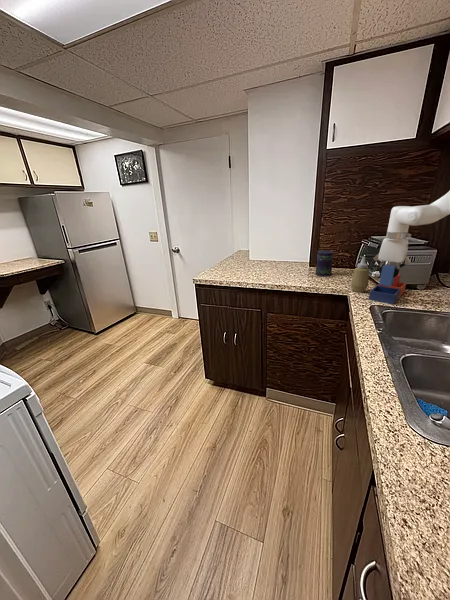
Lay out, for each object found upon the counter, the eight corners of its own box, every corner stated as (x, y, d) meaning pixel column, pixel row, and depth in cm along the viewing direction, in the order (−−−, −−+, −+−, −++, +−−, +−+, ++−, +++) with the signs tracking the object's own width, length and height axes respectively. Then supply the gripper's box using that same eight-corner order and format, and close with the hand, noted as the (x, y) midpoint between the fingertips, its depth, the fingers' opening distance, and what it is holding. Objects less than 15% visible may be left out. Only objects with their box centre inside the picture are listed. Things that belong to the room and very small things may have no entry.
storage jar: (319, 271, 169) (321, 249, 164) (333, 273, 163) (336, 251, 157) (312, 274, 163) (314, 252, 157) (327, 277, 156) (329, 253, 151)
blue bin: (398, 298, 120) (400, 289, 118) (393, 304, 113) (395, 295, 111) (375, 293, 126) (376, 285, 125) (368, 299, 120) (370, 290, 118)
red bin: (404, 291, 128) (406, 282, 126) (399, 296, 121) (401, 288, 119) (382, 287, 134) (383, 279, 133) (376, 292, 128) (378, 284, 126)
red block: (397, 290, 127) (401, 273, 124) (395, 293, 124) (398, 276, 121) (386, 288, 131) (390, 272, 127) (384, 291, 128) (387, 274, 124)
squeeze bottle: (349, 287, 136) (353, 255, 130) (365, 288, 134) (371, 255, 127) (351, 292, 129) (356, 258, 123) (368, 293, 127) (374, 258, 120)
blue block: (393, 283, 117) (397, 265, 114) (390, 286, 114) (394, 267, 111) (381, 282, 120) (385, 264, 117) (379, 284, 117) (382, 266, 114)
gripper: (421, 236, 106) (411, 277, 112) (377, 233, 117) (370, 271, 124) (418, 238, 101) (408, 281, 107) (372, 235, 112) (365, 274, 119)
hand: (388, 275), depth 115 cm, fingers closed on blue block, 4 cm apart
